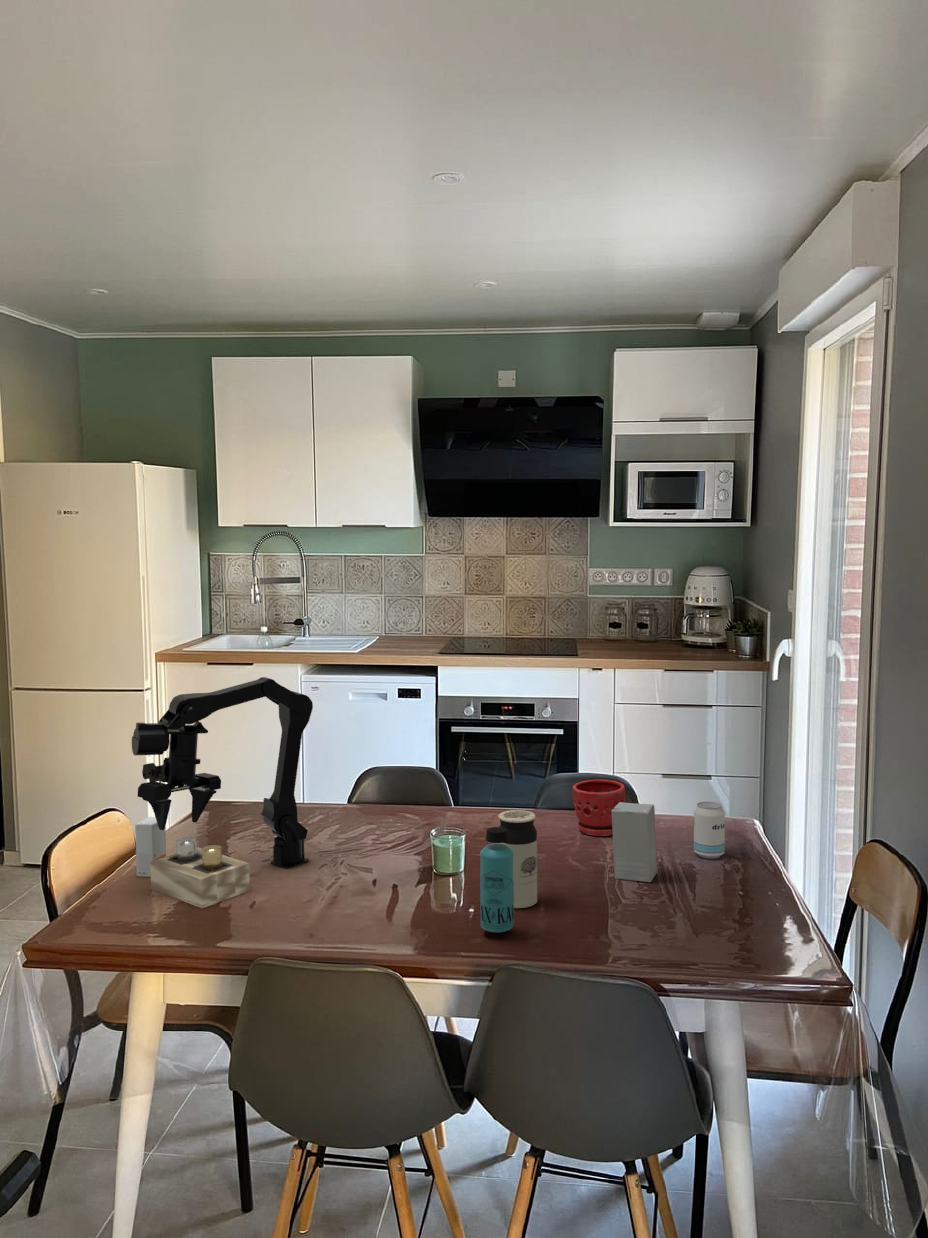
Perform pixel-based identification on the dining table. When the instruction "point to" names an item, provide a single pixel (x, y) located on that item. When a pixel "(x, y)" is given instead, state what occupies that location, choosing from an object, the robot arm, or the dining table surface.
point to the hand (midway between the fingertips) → (178, 826)
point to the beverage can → (709, 830)
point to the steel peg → (186, 849)
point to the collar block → (199, 879)
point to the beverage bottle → (496, 883)
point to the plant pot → (597, 805)
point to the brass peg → (211, 857)
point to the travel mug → (522, 854)
